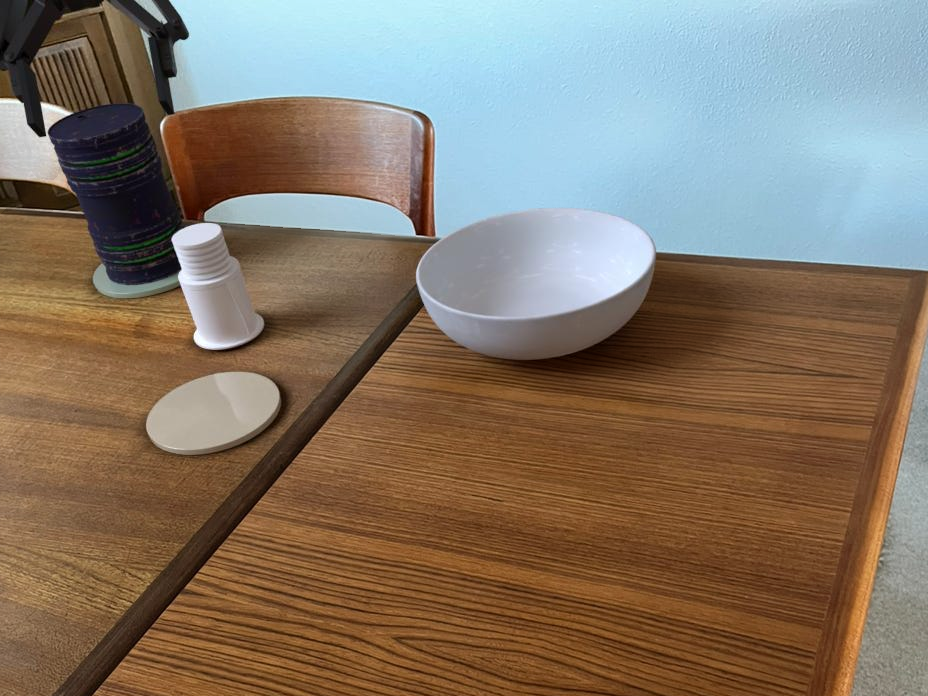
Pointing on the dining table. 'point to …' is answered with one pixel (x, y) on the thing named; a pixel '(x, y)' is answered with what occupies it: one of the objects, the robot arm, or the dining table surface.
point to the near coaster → (213, 413)
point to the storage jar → (120, 190)
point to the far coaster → (131, 286)
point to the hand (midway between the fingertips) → (101, 119)
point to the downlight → (214, 289)
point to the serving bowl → (537, 281)
